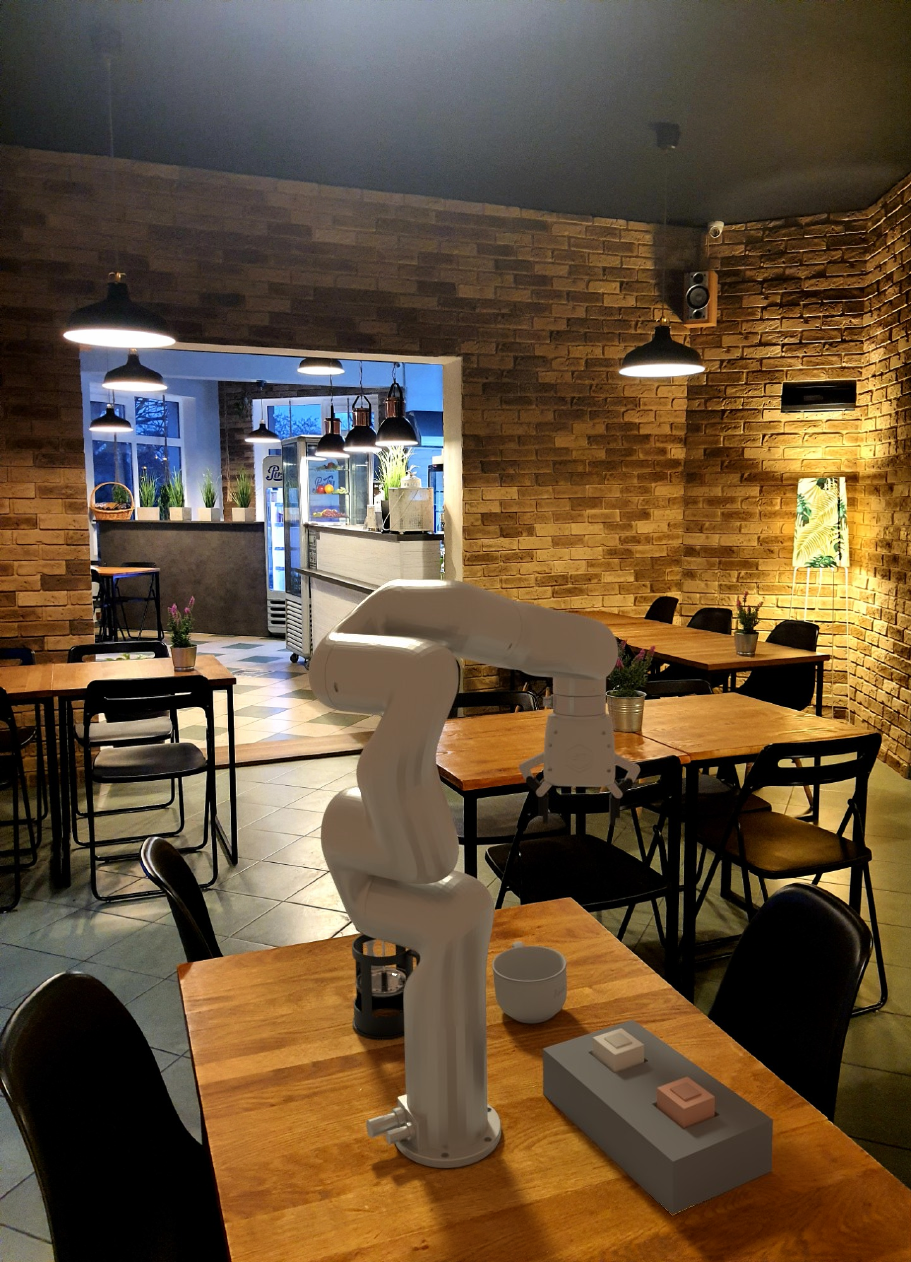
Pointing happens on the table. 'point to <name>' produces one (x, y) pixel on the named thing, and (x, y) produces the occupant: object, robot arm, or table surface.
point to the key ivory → (618, 1050)
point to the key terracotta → (685, 1102)
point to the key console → (658, 1120)
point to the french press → (380, 990)
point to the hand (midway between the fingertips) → (578, 821)
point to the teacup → (530, 982)
